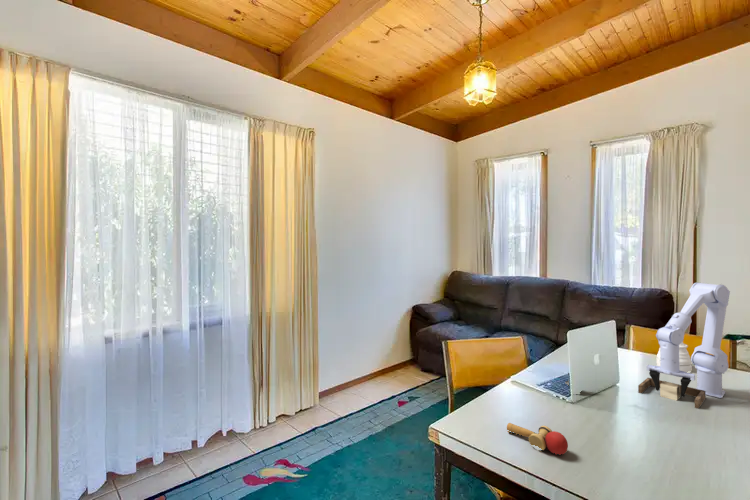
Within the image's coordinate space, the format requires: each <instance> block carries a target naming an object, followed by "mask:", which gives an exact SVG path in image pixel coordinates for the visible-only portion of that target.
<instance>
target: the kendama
mask: <svg viewBox="0 0 750 500" xmlns="http://www.w3.org/2000/svg"><path fill="white" fill-rule="evenodd" d="M507 430H509V431H511V432H514V433H516V434H515V435H517V434H519V435H518V436H521V435H522V437H527V438H528V442H529V444H531V445H535V446H538V447H539V448H541V449H542V450H543V451H544V450H545V449H546V448H547V450H548V451H549V452H550V453H552V454H554V453H555V454H554V455H557V454H559V455H558V456H560V455H561V454H562V455H564V454H566V453H567V452H568V448H569V444H568V440H567V438H566V437H565V435H563V434H562V433H560V432H558V431H555V430H554V431H552V429H551V427H549V426H546V425H541V426H540V427H539V428H538V430H537V431H538V433H537V432H534V431H532V430H530V429H528V428H525V427H522V426H519V425H516V424H513V423H511V422H508V423H507V425H506V431H507ZM531 445H530V446H531Z"/></svg>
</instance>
